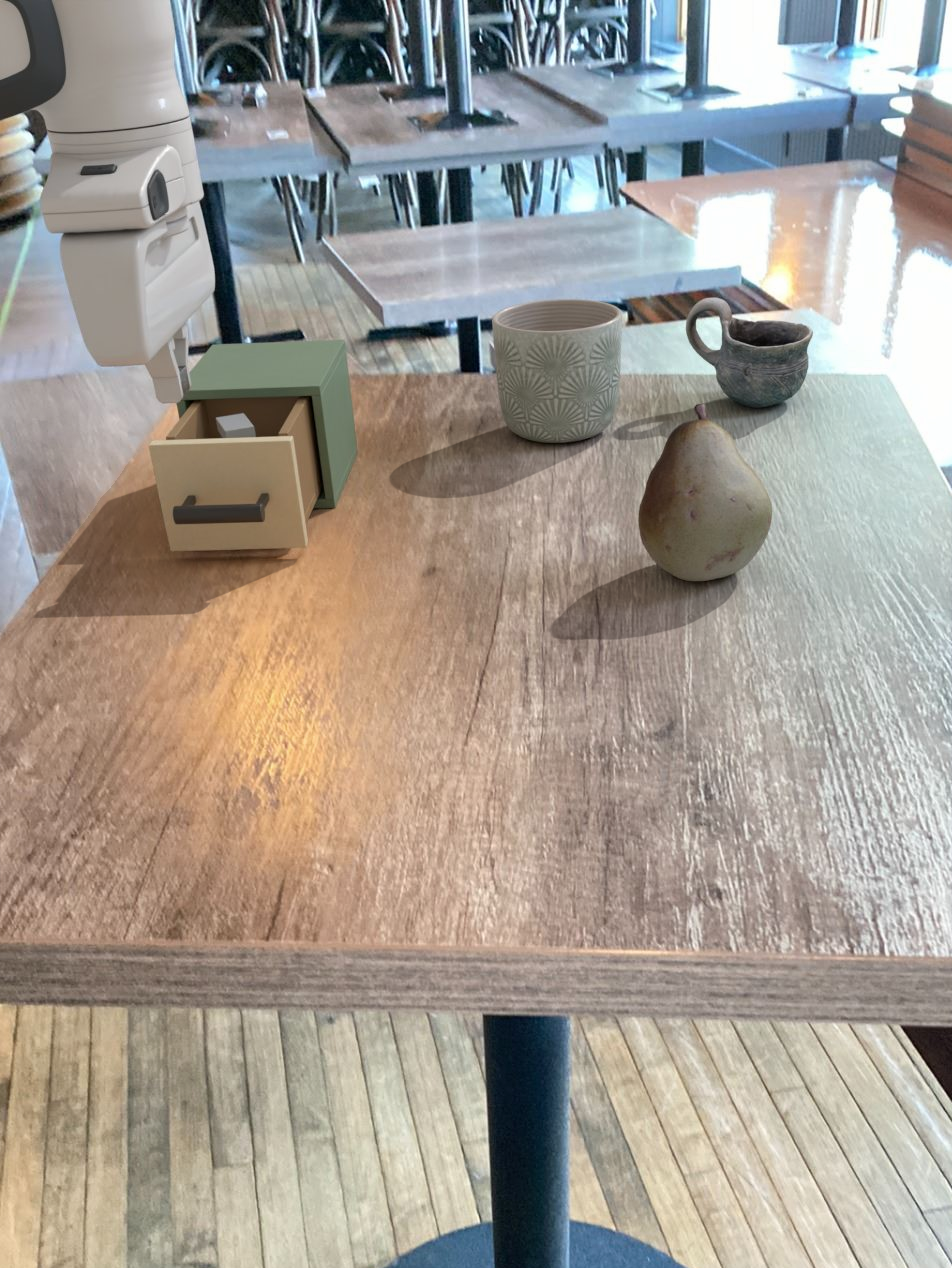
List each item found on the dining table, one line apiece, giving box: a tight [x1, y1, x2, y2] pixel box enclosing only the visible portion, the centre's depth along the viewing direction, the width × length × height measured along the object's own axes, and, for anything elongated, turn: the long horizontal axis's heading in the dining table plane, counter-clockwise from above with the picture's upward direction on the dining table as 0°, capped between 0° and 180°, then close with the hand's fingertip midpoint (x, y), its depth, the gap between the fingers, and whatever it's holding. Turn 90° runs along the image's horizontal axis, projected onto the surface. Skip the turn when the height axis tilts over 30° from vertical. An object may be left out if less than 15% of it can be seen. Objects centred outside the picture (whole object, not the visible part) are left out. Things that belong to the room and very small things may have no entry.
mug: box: [685, 297, 814, 408], centre depth 133 cm, size 10×12×10 cm
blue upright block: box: [216, 413, 256, 438], centre depth 111 cm, size 2×4×8 cm, turn 21°
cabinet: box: [175, 339, 359, 509], centre depth 121 cm, size 15×13×11 cm
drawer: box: [148, 396, 323, 552], centre depth 110 cm, size 18×11×9 cm, turn 177°
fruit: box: [637, 403, 773, 582], centre depth 100 cm, size 10×9×12 cm
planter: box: [491, 298, 623, 444], centre depth 129 cm, size 12×12×11 cm
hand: (175, 397), depth 93 cm, fingers closed
